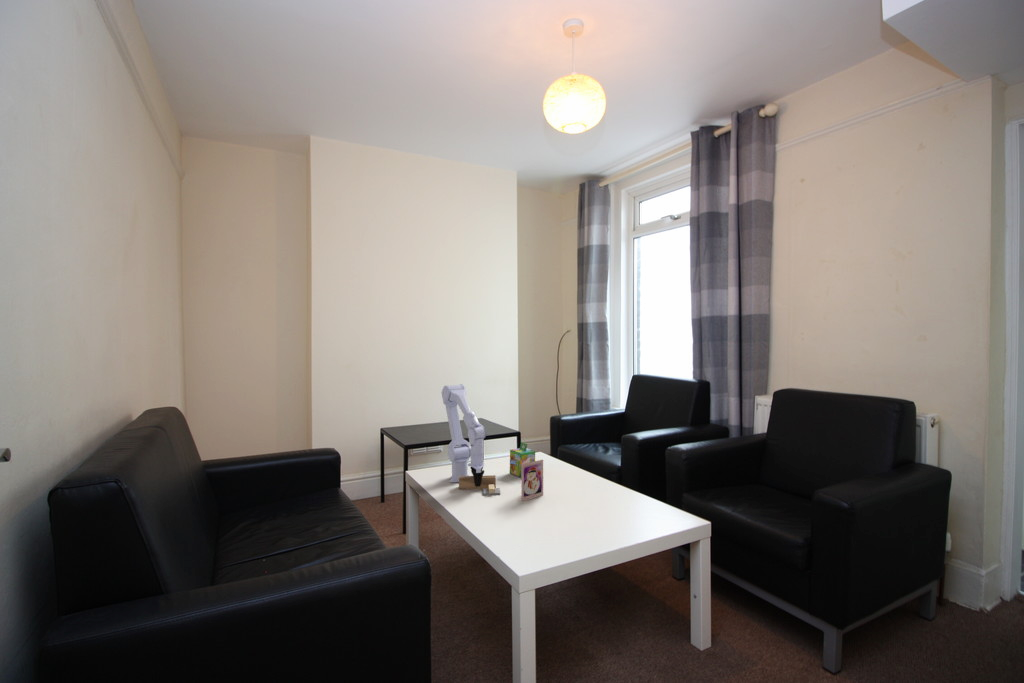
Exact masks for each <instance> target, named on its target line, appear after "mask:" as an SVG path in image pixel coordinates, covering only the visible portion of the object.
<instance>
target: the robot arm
mask: <svg viewBox="0 0 1024 683" xmlns="http://www.w3.org/2000/svg"><path fill="white" fill-rule="evenodd" d="M466 395H467V390H466V387H465V385H464V384H463V383H462V384H461V383H460V384H456V385H455V384H453V385H444V386H443V387H442V390H441V397H442V403H443V404H444V406H445V411H446V416H447V420H448V425H449V427H448V428H449V431H450V433H449V434H450V436H451V441H450V442H449V444H448V445H447V456H448V459H449V461H450V462H451V476H450V477H451V479H450V482H451V483H459V476H470V475H469V473H468V467H470V471H471V475H472V476H473V477H474V482H475V486H476V487H477V486H480V485H481V480H482V476H484V474H485V470H483V469H484V467H485V463H484V462H485V460H484V459H485V456H484V455H485V454H484V450H485V449H484V448H485V447H484V444H485V443H484V442H485V441H484V439H485V438H486V437H487V430H486V427H485V426H484V425H482V424H481V423H480V421H479V420H478V417H477V416H476V413H475V412H474V411H472V410H471V408H470V406H469V403H468V401H467V398H466V397H467V396H466ZM458 408H459V409H460V411H461V412H462V413H463V414H462V415H463V417H462V420H463V421H464V424H465V426H466V428H467V430H468V431H467V437H468V440H466V439H464V437H463V431H462V426H461V422H460V417H459V416H460V415H459V411H458V410H459V409H458ZM469 444H470V445H469ZM469 460H470V463H468V461H469Z"/></svg>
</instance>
